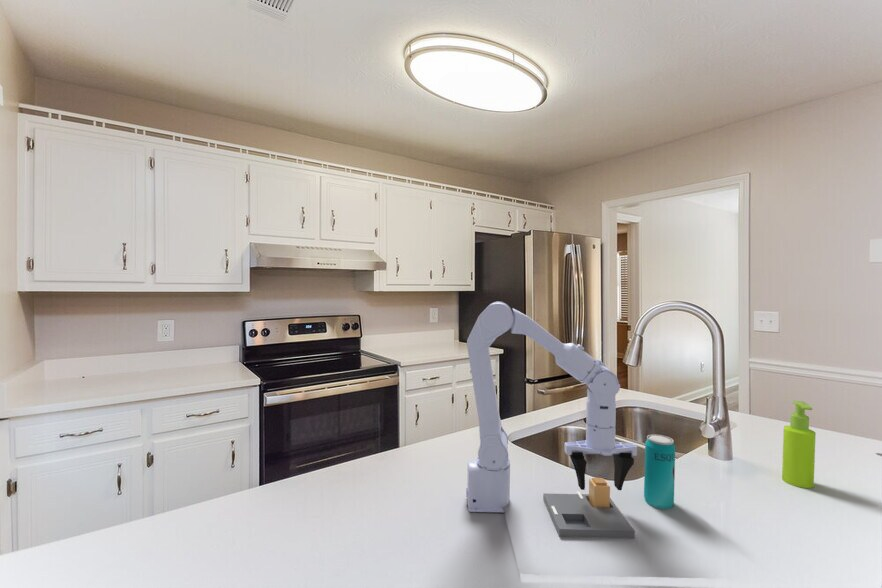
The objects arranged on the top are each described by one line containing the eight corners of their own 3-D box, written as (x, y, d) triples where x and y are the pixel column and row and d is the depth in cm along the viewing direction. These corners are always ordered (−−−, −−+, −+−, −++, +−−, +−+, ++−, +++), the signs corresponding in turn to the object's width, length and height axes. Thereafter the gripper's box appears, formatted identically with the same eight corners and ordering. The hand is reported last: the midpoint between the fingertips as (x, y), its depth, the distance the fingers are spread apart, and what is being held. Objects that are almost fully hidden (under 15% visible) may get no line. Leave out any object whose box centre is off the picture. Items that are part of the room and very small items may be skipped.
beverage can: (677, 515, 86) (679, 444, 86) (648, 512, 87) (649, 442, 87) (668, 501, 92) (670, 434, 91) (640, 498, 93) (642, 432, 92)
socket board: (559, 541, 77) (559, 528, 77) (542, 501, 91) (542, 490, 91) (634, 543, 77) (634, 530, 77) (605, 502, 91) (605, 491, 91)
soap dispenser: (789, 487, 98) (792, 404, 98) (778, 475, 105) (780, 397, 104) (820, 492, 96) (823, 407, 96) (807, 479, 103) (810, 400, 102)
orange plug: (593, 512, 85) (594, 483, 85) (588, 504, 88) (589, 476, 88) (609, 512, 85) (610, 484, 85) (603, 504, 88) (604, 476, 88)
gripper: (571, 430, 82) (570, 497, 83) (644, 431, 82) (643, 498, 82) (561, 418, 89) (561, 480, 90) (629, 419, 89) (628, 481, 89)
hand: (599, 487), depth 86 cm, fingers open, 7 cm apart
